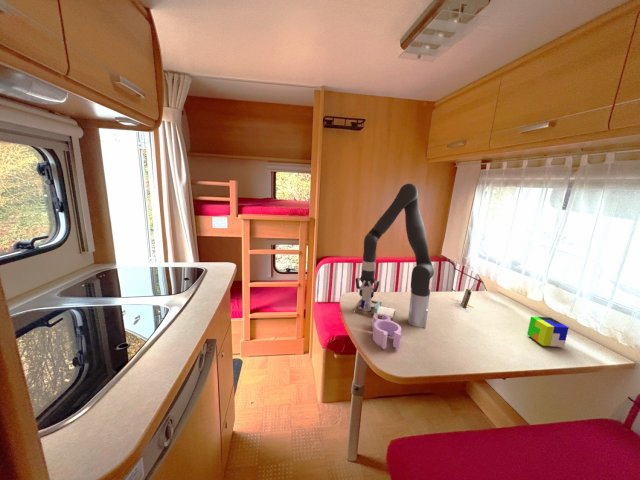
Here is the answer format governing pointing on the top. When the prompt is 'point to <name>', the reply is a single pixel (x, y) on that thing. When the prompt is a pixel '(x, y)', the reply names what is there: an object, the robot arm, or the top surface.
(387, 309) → the slide cover
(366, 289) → the beverage can
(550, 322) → the puzzle toy
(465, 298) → the walkie talkie
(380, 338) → the clip
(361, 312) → the tan flat frame
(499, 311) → the top surface
